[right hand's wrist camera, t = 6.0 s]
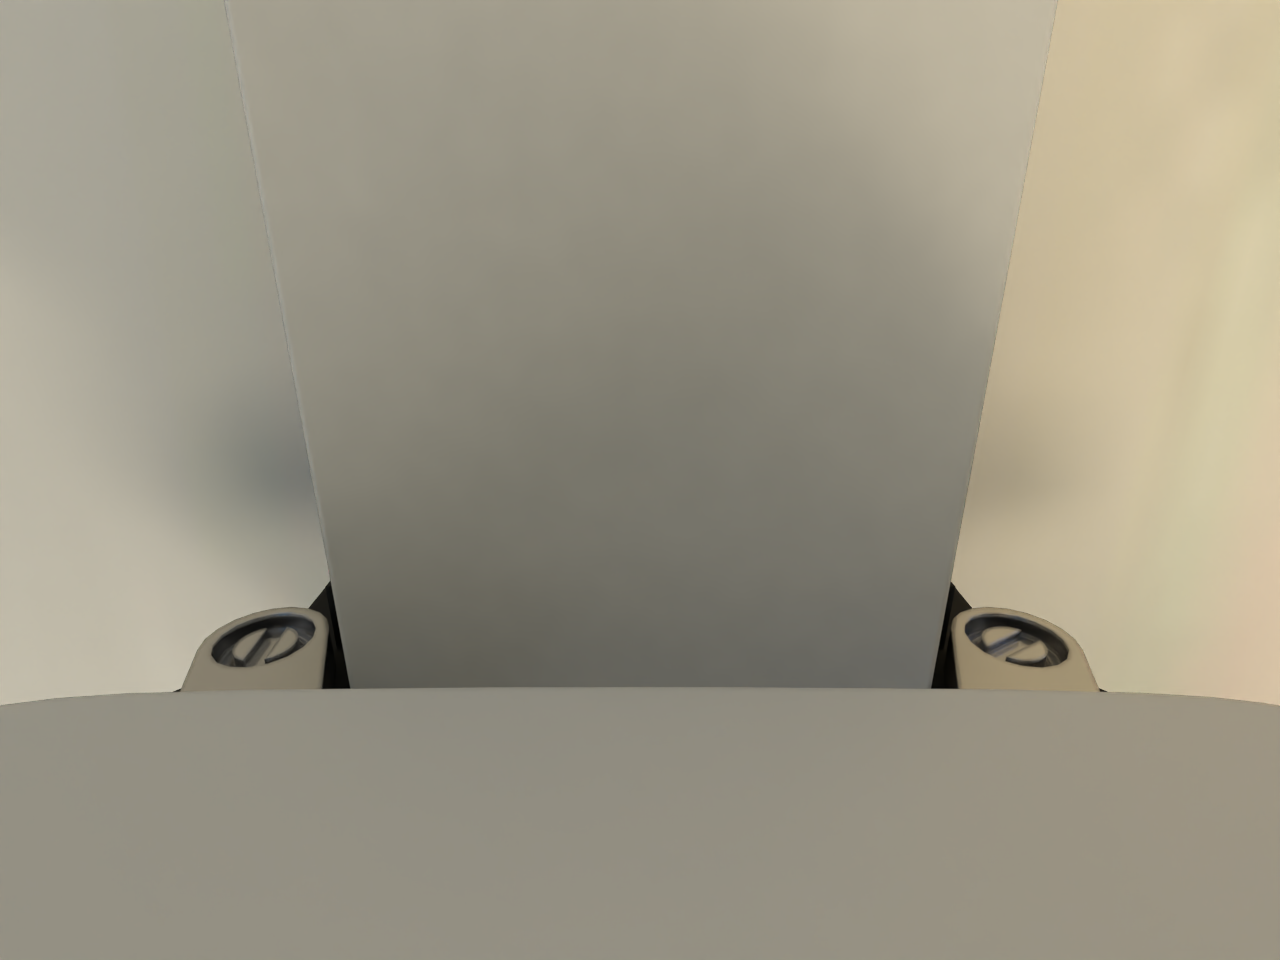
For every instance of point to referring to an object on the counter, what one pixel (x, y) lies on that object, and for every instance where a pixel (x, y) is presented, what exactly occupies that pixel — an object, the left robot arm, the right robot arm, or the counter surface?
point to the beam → (640, 323)
